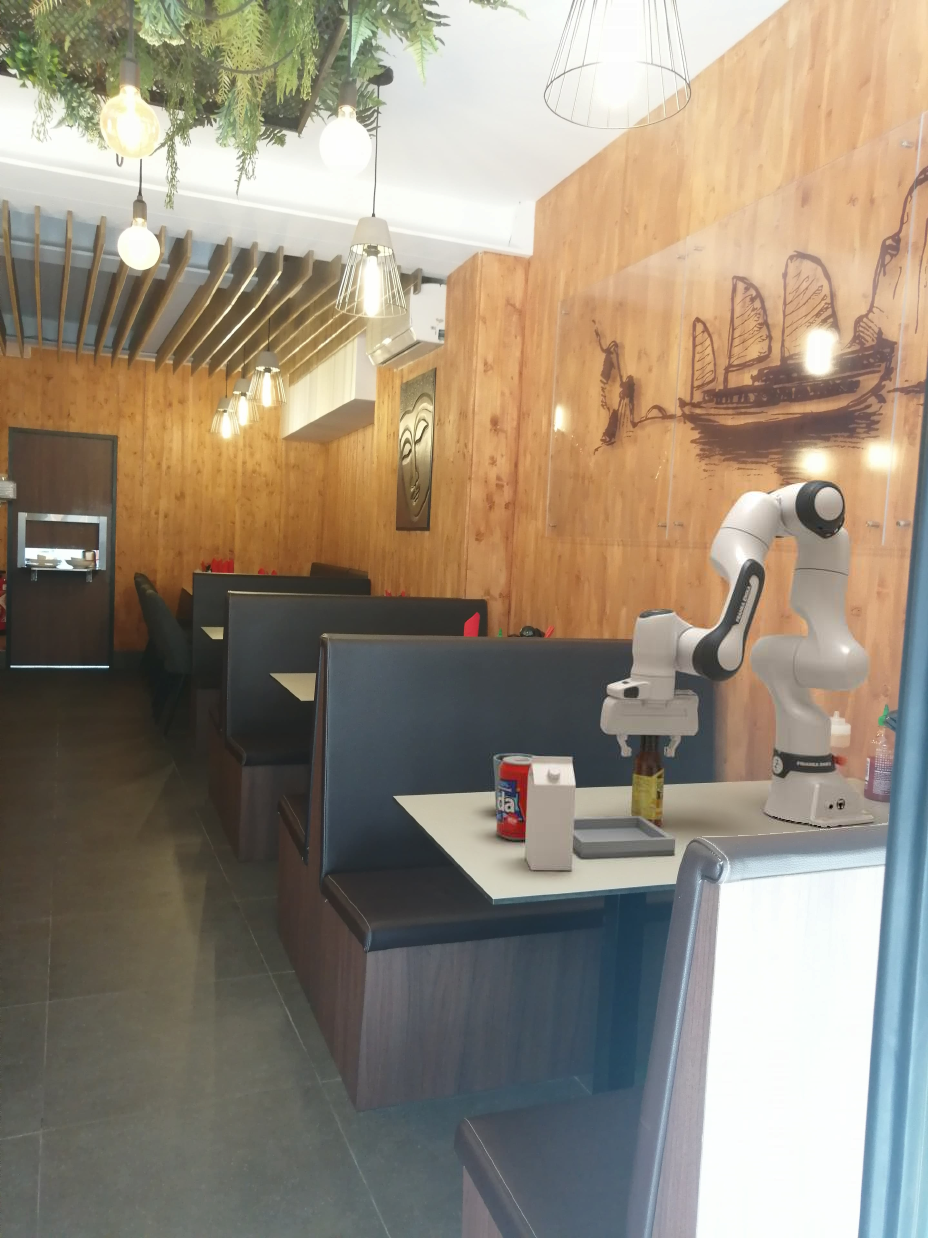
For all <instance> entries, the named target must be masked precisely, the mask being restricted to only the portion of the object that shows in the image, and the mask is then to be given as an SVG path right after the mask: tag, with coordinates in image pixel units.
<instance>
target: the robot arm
mask: <svg viewBox="0 0 928 1238" xmlns="http://www.w3.org/2000/svg"><path fill="white" fill-rule="evenodd" d="M845 514H846V502H845V496H844V495H843V492H842V491H841V489H840V487H839V486H838V485H836V483H834V482H831V481H828V480H823V479H822V480H820V479H819V480H817V479H814V480H810V481H805V482H804V481H802V482H798V483H794V484H790V485H787V486H785V487H782V488H779V489H774V490H771V491H769V492H767V493H766V492H763V491H756V490H755V491H754V490H753V491H749V492H746V493H744V494H742V495H741V496H740V497H739V498H738V499H737V501H736V502H735V503H734V505H733V506H732V507H731V509H730V511H729V512H728V513H727V514H726V517H725V518H724V520H723V522H722V523H721V525H720V528H719V529H718V530H717V533H716V534H715V535H716V536H715V538H714V539H713V541H712V544H711V547H710V551H709V560H710V564H711V566H712V567H713V570H714V571H715V573H717V574H718V575H719V576H721V578H723V579H724V580H726V581H727V582H728V584H729V591H728V594H727V597H726V600H725V603H724V606H723V609H722V612H721V613H720V614H721V615H720V618H719V620H718V622H717V623H716V624H715V625H714V626H713V627H711V628H701V627H696V626H694V625H692V624H690V623H688V622H686V621H685V620H683V619H682V618H681V617H680V616H678V614H676V613H677V612H676V611H675V610H673V609H667V608H660V609H649V610H645V611H643V612H642V613H640V614H639V615H638V616H637V619H636V621H635V625H634V629H633V630H634V631H633V635H632V636H633V637H632V648H631V649H632V650H631V651H632V657H633V658H632V659H633V664H632V667H631V670H630V677H629V678H626V679H623V680H619V681H616V682H613V683H610V684H608V685H607V686H606V693H607V695H609V696H607V697H606V698H605V699H604V702H603V704H602V709H601V715H600V725H599V726H600V728H601V730H602V732H604V733H605V734H607V735H616V739H617V742H618V743H619V745H620V747H621V749H620V751H621V752H620V755H621V756H622V757H626V758H627V757H631V756H632V748H631V747H630V746H628V745H627V743H626V740H628V736H629V735H633V736H640V735H660V736H669V739H670V742H669V745H668V746H664V750H663V751H664V753H663V755H664V756H665V757H667V758H674V757H675V752H676V751H675V750H676V748H677V747H678V745H679V744H680V742H681V738H682V736H695V735H696V734H697V732H698V731H699V716H698V715H699V713H698V708H699V696H698V694H697V693H695V692H694V691H693V690H691V689H675V685H676V684H675V683H676V671H677V672H681V673H685V674H688V675H693V676H698V677H702V678H704V679H706V680H707V679H708V680H711V681H713V682H724V681H725V682H726V681H727V680H730V679H731V678H733V677H734V676H735V675H736V674H737V673H738V671H739V670H740V669H741V667H742V666H743V662H744V658H745V652H746V645H747V639H748V635H749V632H750V629H751V627H752V623H753V620H754V617H755V614H756V612H757V609H758V606H759V603H760V600H761V596H762V592H763V589H764V584H765V581H766V572H765V569H764V563H765V561H766V557H767V556H768V554H769V551H770V550H771V547H772V544H773V542H774V539H775V538H776V539H781V538H788V537H789V538H793V537H794V539H795V540H794V541H795V542H796V546H797V547H796V548H797V555H796V559H795V564H794V570H793V575H792V583H791V590H790V595H789V604H790V607H791V609H792V610H793V612H794V613H795V614H796V615H797V616H798V617H800V618H802V619H803V620H804V621H805V622H806V625H807V631H808V633H807V636H805V635H795V634H785V633H780V634H772V635H766V636H765V635H764V636H760V637H759V638H758V639H757V640H756V641H755V642H754V644H753V646H752V647H751V651H750V654H749V662H750V667H751V669H752V671H753V673H754V674H755V676H756V677H758V679H759V680H760V681H762V684H764V685H765V687H766V688H767V690H768V692H769V696H770V697H771V700H772V703H773V706H774V711H775V746H774V748H772V749H773V750H772V761H771V768H772V769H771V770H772V778H771V784H770V789H769V792H768V796H767V800H766V803H765V805H764V808H763V812H764V813H765V814H767V815H769V816H770V817H773V816H775V817H778V818H777V819H779V818H783V819H788V820H794V821H798V822H805V823H810V824H814V825H817V826H816V827H818V826H821V827H820V828H828V827H827V826H830V827H831V828H832V827H839V826H838V825H842V826H849V825H857V824H866V823H872V822H874V816H873V815H872V814H871V813H870V812H868V811H866V810H865V809H863V799H862V795H861V792H860V791H859V789H858V788H857V787H856V786H855V785H853V784H852V783H851V781H849V780H848V779H847V778H845V776H843V775H842V774H841V773H840V772H839V771H838V770H837V766H836V765H838V766H840V767H844V766H846V765H847V762H848V761H847V758H846V757H845V756H842V755H839V754H837V755H834V754H833V753H831V737H832V736H831V735H832V718H831V716H830V714H829V713H828V712H827V710H826V709H824V708H823V707H822V706H820V705H819V704H818V703H817V702H816V701H815V700H814V698H813V696H812V694H811V689H817V690H824V691H830V692H831V691H832V692H842V691H854V690H858V689H859V688H860V687H861V686H862V685H864V683H865V681H866V680H867V679H868V676H869V674H870V671H871V670H870V669H871V663H870V662H871V661H870V658H869V655H868V653H867V651H866V650H865V648H864V647H863V646H862V645H861V644H860V643H859V642H858V641H857V640H856V638H855V637H854V636H853V634H852V633H851V631H850V627H849V625H848V622H847V618H846V597H847V589H848V588H847V587H848V582H849V581H848V580H849V575H850V568H851V567H850V566H851V542H850V541H851V540H850V535H849V532H848V531H847V529H845V528H844V527H843V525H844V523H845V519H846V518H845V517H846V516H845ZM775 817H774V818H775ZM810 824H809V825H810ZM814 825H813V826H814ZM830 827H829V828H830Z"/></svg>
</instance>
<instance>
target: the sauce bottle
mask: <svg viewBox="0 0 928 1238" xmlns="http://www.w3.org/2000/svg"><path fill="white" fill-rule="evenodd" d="M639 736H640V745H639V751H638V753H637V754H636V756H635V758H634V760H633V772H632V783H631V784H632V786H631V807H630V808H631V810H630V811H631V812H630V816H642V817H644V818H645V819H647V820H648V821H649V822H651V823H652V824H654V825H655V826H657V827H658V828H659V827H660V826H661V824H662V818H663V807H664V806H663V805H664V783H665V779H664V778H665V765H664V762H663V759H662V756H661V753H660V752H661V751H660V737H661V735H639Z"/></svg>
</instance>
